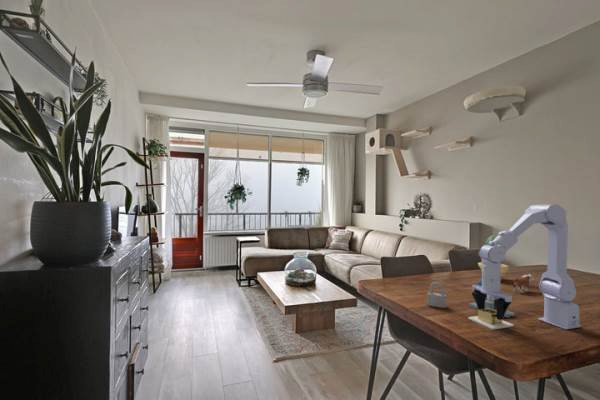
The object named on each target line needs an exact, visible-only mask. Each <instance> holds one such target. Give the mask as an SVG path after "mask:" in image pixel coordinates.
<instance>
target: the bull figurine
mask: <svg viewBox="0 0 600 400" xmlns="http://www.w3.org/2000/svg"><path fill="white" fill-rule="evenodd" d="M531 281H535V278H534V276H533V275H532V274H530V273H529V274H524V275H522V276H519V277H515V278H513V279H512V282H513V286H512V289H513V290H512V291H513V292H516V287H517V289H518V291H520V292H521V293H522V294H523V293H524V291H525V292H528V287H529V284H530V282H531ZM524 287H525V288H524Z"/></svg>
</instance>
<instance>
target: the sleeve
mask: <svg viewBox="0 0 600 400" xmlns="http://www.w3.org/2000/svg"><path fill="white" fill-rule="evenodd" d="M477 316H478V319H480V320H482V321H484V322H487V323H489V324H491V325H492V324H499V323H503V321H504V318H503V319H502V320H498V319H497V311H496V310H493V309H491V308H485V309H478V310H477Z"/></svg>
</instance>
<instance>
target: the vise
mask: <svg viewBox="0 0 600 400" xmlns="http://www.w3.org/2000/svg"><path fill="white" fill-rule="evenodd" d="M494 300H496V299H494V297H493V296H490V295H487V297H486V299H485V308H491V309H493V310H496V304H495V301H494ZM468 307H470V308H473V309H475V310H477V311H478V307H477V304H476V301H475V302H468ZM496 311H497V310H496ZM511 316H513V317H515V316H516V313H515V312H512V311H510V310H508V309H507V310H506V312H505V315H504V317H506V318H512V317H511Z"/></svg>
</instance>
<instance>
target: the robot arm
mask: <svg viewBox="0 0 600 400" xmlns="http://www.w3.org/2000/svg"><path fill="white" fill-rule="evenodd" d="M566 217H567V211H566V209H565V208H563V207H562V206H561V205H559V204H555V203H551V204H540V203H533V204H531V205H530V206H529V207H528V208H526V209H525V210H524V214H523V215H522V216H521V217H520V218H519V219H518V220H517V221H515V223H514V224H513V225H512V227H511V228H509V230H503V231H499V232H498V235H496V236H497V237H496V238H495V239H494V240H493V241H490V242H489V245H486V244H484V245H483V246H482V247H481V248H480V250H479V251H478V256H479V258H480V259H481V262H482V271H481V281H482V286H479V285H478V284H472V285H471V291H472V292H471V295H472V297H473V299H474V301H475V302H476V304H477V307H478V309H485V300H487V297H486V296H487V295H490V296H493V297H496V298H498V299H497V300H494V301H495V304H496V310H497V319H498V320H502V319H503V320H504V319H505V318H504V315H505V312H506V310H507V311H508V308H509V306H510V305H512V302H513V296H512V295H510V294H507V293H506V292H504V291H501V280H500V265H501V264H502V263H501V262H503V261H504V260H505V258H506V254H507V252H508V251H509V250H510V249H512V248H513V246H515V245H516V244H517V243H518V237H519V236H521V235H522V234H524V232H526V231H527V230H528V229H530V228H531V227H532V226H533V225H535V224H541V225H543V226H544V227H545V228H546V229H547V231H548V233H547V234H548V235H547V238H548V239H547V266H546V267H547V268H546V269H547V270H546V271H545V272H543V273H542V274H541V279H540V281H539V284H538V288H539V290H540V292H541V293H542V296H543V298H544V300H543V301H544V302H543V308H544V309H543V317H538V318H537V320H538V321H542V322H544V323H547V324H549V325H553V326H556V327H558V328H561V329H564V330H570V329H571V330H572V329H576V328H582V327H581V324H580V306H579V304H577V303H575V302H572V301H573V300H574V299H575V297H576V296H577V289H576V287H575V280H574V279H573V278H572V277H571V276H570V275H569V274H568V273H567V272H568V269H567V268H568V242H569V241H568V239H569V238H568V237H569V235H568V234H569V232H568V231H569V225H568V221H567V218H566Z"/></svg>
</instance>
